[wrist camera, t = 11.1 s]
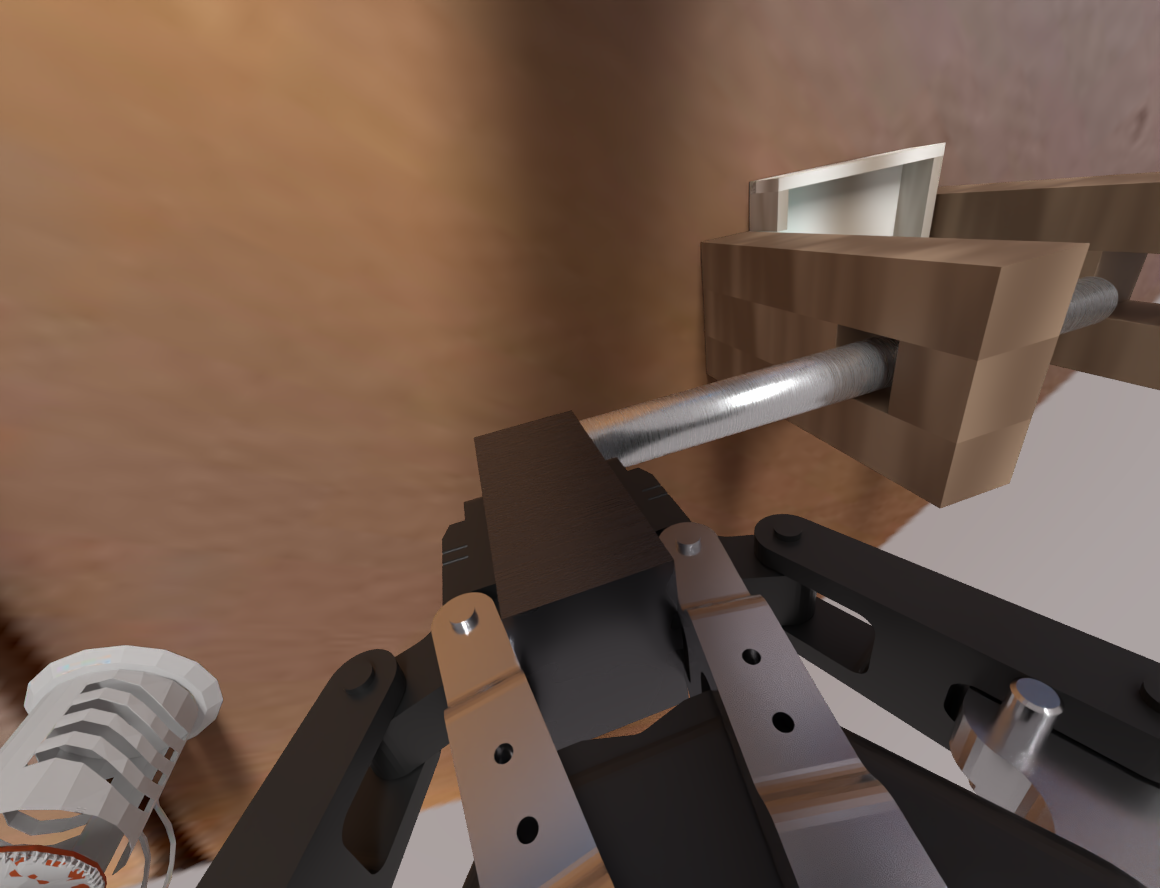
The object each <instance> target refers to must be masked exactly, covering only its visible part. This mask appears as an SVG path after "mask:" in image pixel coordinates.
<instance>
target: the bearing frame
mask: <svg viewBox="0 0 1160 888" xmlns="http://www.w3.org/2000/svg"><path fill="white" fill-rule="evenodd" d="M945 144H946V143H939V144H933V145H926V146H920V147H914V148H907V149H902V150H897V151H892V152H888V153H883V154H878V155H873V156H869V157H864V158H859V159H855V160H850V161H845V162H840V163H836V164H831V165H826V166H822V167H817V168H812V169H807V170H803V171H798V172H793V173H789V174H784V175H779V176H775V177H770V178H765V179H760V180H756V181H751V182H750V231H747V232H743V233H738V234H734V235H730V236H725V237H721V238H717V239H712V240H708V241H704V242H701V255H702V278H703V300H704V322H705V344H706V367H707V374H708V375H710V376H711V377H713V378H715V379H717V380H718V381H721V380H724V379H728V378H731V377H735V376H738V375H742V374H745V373H749V372H752V371H756V370H759V369H763V368H766V367H770V366H773V365H777V364H780V363H784V362H787V361H791V360H794V359H798V358H801V357H805V356H809V355H812V354H816V353H819V352H823V351H826V350H830V349H833V348H837V347H840V346H844V345H847V344H851V343H854V342H858V341H861V340H865V339H868V338H872V337H875V336H879V335H881V336H885V337H888V338H892V339H896V340H900V341H899V347H898V353H897V359H896V365H895V371H894V377H893V383H892V386H890V387H887V388H883V389H880V390H877V391H873V392H870V393H867V394H864V395H860V396H857V397H854V398H851V399H847V400H844V401H841V402H838V403H834V404H831V405H828V406H824V407H821V408H818V409H815V410H811V411H808V412H805V413H802V414H798V415H795V416H792V417H789V418H785V419H786V420H788V421H789V422H791V423H793V424H795V425H796V426H798V427H800V428H801V429H803V430H805V431H807V432H808V433H810V434H812V435H814V436H815V437H817V438H819V439H821V440H822V441H824V442H826V443H827V444H829V445H831V446H833V447H834V448H836V449H838V450H840V451H841V452H843V453H845V454H847V455H848V456H850V457H852V458H853V459H855V460H857V461H859V462H860V463H862V464H864V465H866V466H867V467H869V468H871V469H873V470H874V471H876V472H878V473H879V474H881V475H883V476H885V477H886V478H888V479H890V480H892V481H893V482H895V483H897V484H899V485H900V486H902V487H904V488H905V489H907V490H909V491H911V492H912V493H914V494H916V495H918V496H919V497H921V498H923V499H925V500H926V501H928V502H930V503H931V504H933V505H935V506H937V507H938V508H943V507H945V506H948V505H951V504H954V503H956V502H959V501H962V500H965V499H968V498H970V497H973V496H976V495H979V494H981V493H984V492H987V491H989V490H992V489H995V488H998V487H1001V486H1003V485H1006V484H1009V483H1010V480H1011V478H1012V475H1013V472H1014V468H1015V466H1016V463H1017V460H1018V457H1019V454H1020V451H1021V448H1022V445H1023V442H1024V439H1025V436H1026V433H1027V430H1028V427H1029V424H1030V421H1031V418H1032V415H1033V412H1034V409H1035V406H1036V403H1037V400H1038V397H1039V394H1040V391H1041V388H1042V385H1043V382H1044V379H1045V376H1046V373H1047V370H1048V367H1049V364H1051V365H1055V366H1059V367H1063V368H1068V369H1072V370H1076V371H1080V372H1085V373H1089V374H1093V375H1097V376H1102V377H1106V378H1110V379H1115V380H1119V381H1123V382H1127V383H1131V384H1136V385H1140V386H1144V387H1148V388H1152V389H1157V390H1160V304H1158V303H1150V302H1141V301H1132V300H1129V299H1130V297H1131V294H1132V292H1133V289H1134V287H1135V284H1136V282H1137V279H1138V277H1139V274H1140V272H1141V269H1142V267H1143V264H1144V261H1145V259H1146V256H1147V254H1148V253H1153V254H1160V172H1150V173H1136V174H1121V175H1106V176H1091V177H1077V178H1062V179H1047V180H1032V181H1018V182H1003V183H988V184H973V185H959V186H944V187H938V183H939V177H940V172H941V166H942V161H943V155H944V149H945ZM1083 277H1100V278H1103V279H1106V280H1107V281H1109V282H1110V283H1112V284H1113V285H1114V287H1115V288H1116V290H1117V293H1118V303H1117V306H1116V308H1115V310H1114V311H1113V312H1112V314H1111V315H1110V316H1109V317H1107V318H1106V319H1104V320H1103V321H1101V322H1099V323H1096V324H1093V325H1089V326H1086V327H1083V328H1079V329H1076V330H1073V331H1070V332H1066V333H1063V334H1060V332H1061V329H1062V326H1063V323H1064V320H1065V317H1066V314H1067V311H1068V308H1069V305H1070V302H1071V299H1072V296H1073V293H1074V290H1075V287H1076V284H1077V281H1078V279H1079V278H1083ZM1059 334H1060V335H1059Z"/></svg>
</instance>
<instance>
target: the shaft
mask: <svg viewBox="0 0 1160 888" xmlns="http://www.w3.org/2000/svg"><path fill="white" fill-rule="evenodd" d="M1117 303H1118V293H1117V290H1116V288H1115V287H1114V285H1113V284H1112V283H1110V282H1109V281H1107V280H1106V279H1103V278H1100V277H1083V278H1079V279H1078V281H1077V284H1076V287H1075V290H1074V293H1073V296H1072V299H1071V302H1070V305H1069V308H1068V311H1067V314H1066V317H1065V320H1064V323H1063V326H1062V329H1061V332H1060V334H1063V333H1066V332H1070V331H1073V330H1076V329H1079V328H1083V327H1086V326H1089V325H1093V324H1096V323H1099V322H1101V321H1103V320H1104V319H1106V318H1107V317H1109V316H1110V315H1111V314H1112V312H1113V311H1114V310H1115V308H1116V306H1117ZM1060 334H1059V335H1060ZM899 341H900V340H896V339H892V338H888V337H885V336H881V335H879V336H875V337H872V338H868V339H865V340H861V341H858V342H854V343H851V344H847V345H844V346H840V347H837V348H833V349H830V350H826V351H823V352H819V353H816V354H812V355H809V356H805V357H801V358H798V359H794V360H791V361H787V362H784V363H780V364H777V365H773V366H770V367H766V368H763V369H759V370H756V371H752V372H749V373H745V374H742V375H738V376H735V377H731V378H728V379H724V380H721V381H717V382H714V383H710V384H707V385H703V386H699V387H696V388H692V389H689V390H685V391H682V392H678V393H675V394H671V395H668V396H664V397H661V398H657V399H654V400H650V401H647V402H643V403H640V404H636V405H633V406H629V407H626V408H622V409H619V410H615V411H612V412H608V413H605V414H601V415H597V416H594V417H590V418H587V419H583V420H580V421H578V419H577V418H576V416H575V415H574V413H573V412H572V410H571V411H568V412H564V413H560V414H557V415H553V416H550V417H546V418H543V419H539V420H535V421H532V422H528V423H525V424H521V425H518V426H514V427H510V428H507V429H503V430H500V431H496V432H493V433H489V434H485V435H482V436H478V437H475V438H474V442H475V448H476V455H477V462H478V468H479V475H480V481H481V488H482V495H483V501H484V508H485V515H486V521H487V528H488V534H489V541H490V548H491V554H492V561H493V568H494V574H495V581H496V587H497V594H498V601H499V607H500V614H501V620H502V623H503V625H504V628H505V631H506V633H507V636H508V638H509V641H510V644H511V646H512V649H513V651H514V652H515V655H516V657H517V659H518V662H519V664H520V667H521V668H522V670H523V672H524V674H525V676H526V679H527V681H528V684H529V686H530V688H531V691H532V693H533V696H534V698H535V700H536V703H537V705H538V707H539V710H540V712H541V715H542V717H543V719H544V722H545V724H546V727H547V729H548V731H549V734H550V736H551V739H552V741H553V743H554V746H555V748H556V751H557V750H560V749H562V748H565V747H567V746H570V745H572V744H575V743H577V742H580V741H584V740H590V739H593V738H595V737H598V736H600V735H603V734H605V733H608V732H610V731H613V730H615V729H618V728H620V727H623V726H625V725H628V724H630V723H633V722H635V721H638V720H640V719H643V718H645V717H648V716H650V715H653V714H655V713H658V712H660V711H663V710H665V709H668V708H670V707H673V706H675V705H678V704H680V703H681V702H682V701H684V700H686V699H688V689H687V684H686V681H685V678H684V670H683V663H685V659H684V650H683V640H682V630H681V621H680V617H679V614H678V611H677V601H676V593H678V591H677V582H676V572H675V562H674V559H673V557H672V556H671V554H670V553H669V552H668V550H667V549H666V547H665V546H664V544H663V543H662V541H661V540H660V538H659V537H658V536H657V534H656V533H655V531H654V530H653V528H652V527H651V525H650V524H649V522H648V521H647V520H646V518H645V517H644V515H643V514H642V512H641V511H640V509H639V508H638V506H637V505H636V504H635V502H634V501H633V499H632V498H631V496H630V495H629V493H628V492H627V490H626V489H625V488H624V486H623V485H622V483H621V482H620V480H619V479H618V477H617V476H616V474H615V473H614V472H613V470H612V469H611V467H610V466H609V464H608V463H607V461H606V460H608V459H611V458H614V457H617V458H618V459H619V460H620V462H621V463H622V464H623V466H624V467H628V466H632V465H635V464H638V463H641V462H645V461H648V460H651V459H654V458H658V457H661V456H664V455H668V454H671V453H674V452H677V451H681V450H684V449H687V448H690V447H694V446H697V445H700V444H704V443H707V442H710V441H713V440H717V439H720V438H723V437H726V436H730V435H733V434H736V433H739V432H743V431H746V430H749V429H753V428H756V427H759V426H762V425H766V424H769V423H772V422H775V421H779V420H782V419H785V418H789V417H792V416H795V415H798V414H802V413H805V412H808V411H811V410H815V409H818V408H821V407H824V406H828V405H831V404H834V403H838V402H841V401H844V400H847V399H851V398H854V397H857V396H860V395H864V394H867V393H870V392H873V391H877V390H880V389H883V388H887V387H890V386H892V383H893V377H894V371H895V365H896V359H897V353H898V347H899Z"/></svg>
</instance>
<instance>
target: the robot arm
mask: <svg viewBox="0 0 1160 888" xmlns="http://www.w3.org/2000/svg"><path fill="white" fill-rule="evenodd" d="M606 461H607V463H608V464H609V466H610V467H611V469H612V470H613V472H614V473H615V474H616V476H617V477H618V479H619V480H620V482H621V483H622V485H623V486H624V488H625V489H626V490H627V492H628V493H629V495H630V496H631V498H632V499H633V501H634V502H635V504H636V505H637V506H638V508H639V509H640V511H641V512H642V514H643V515H644V517H645V518H646V520H647V521H648V522H649V524H650V525H651V527H652V528H653V530H654V531H655V533H656V534H657V536H658V537H659V538H660V540H661V541H662V543H663V544H664V546H665V547H666V549H667V550H668V552H669V553H670V554H671V556H672V557H673V559H674V562H675V572H676V582H677V591H678V593H676V601H677V611H678V614H679V617H680V621H681V630H682V640H683V650H684V659H685V663H683V670H684V678H685V681H686V684H687V687H688V691H689V694H690V698H688V699H686V700H684V701H682V702H681V703H680V704H679V705H677V706H676V707H675V708H673V709H672V710H671V711H669V712H668V713H667V714H666V715H664V716H663V717H662V718H660V719H659V720H658V721H656V722H655V723H654V724H653V725H651V726H650V727H649V728H647V729H646V730H645V731H643V732H642V733H639V734H636V735H629V736H620V737H611V738H602V739H593V740H584V741H580V742H577V743H575V744H572V745H570V746H567V747H565V748H562V749H560V750H557V751H556V748H555V746H554V743H553V741H552V739H551V736H550V734H549V731H548V729H547V727H546V724H545V722H544V719H543V717H542V715H541V712H540V710H539V707H538V705H537V703H536V700H535V698H534V696H533V693H532V691H531V688H530V686H529V684H528V681H527V679H526V676H525V674H524V672H523V670H522V668H521V667H520V664H519V662H518V659H517V657H516V655H515V652H514V651H513V649H512V646H511V644H510V641H509V638H508V636H507V633H506V631H505V628H504V625H503V623H502V620H501V614H500V607H499V601H498V594H497V587H496V581H495V574H494V568H493V561H492V554H491V548H490V541H489V534H488V528H487V521H486V515H485V508H484V501H483V497H480V498H476V499H473V500H470V501H466V502H464V511H465V521H461V522H458V523H455V524H452V525H450V526H449V527H448V529H447V531H446V533H445V535H444V537H443V539H442V553H443V555H442V563H443V566H442V579H443V606H442V607H441V608H440V610H439V611H438V612H437V613H436V615H435V617H434V619H433V621H432V625H431V632H430V633H429V634H428V635H427V636H426V637H425V638H424V639H422V640H421V641H420V642H418V643H417V644H415V645H414V646H412V647H411V648H409V649H407V650H406V651H404V652H403V653H401V654H399V655H398V656H396V657H394V656H393V654H392V653H390V652H389V651H386V650H382V649H374V650H369V651H366V652H363V653H361V654H358V655H356V656H355V657H353V658H351V659H350V660H348V661H347V662H346V663H344V664H343V665H342V666H341V667H340V668H339V669H338V670H337V671H336V672H335V673H334V674H333V676H332V677H331V679H330V680H329V682H328V683H327V685H326V686H325V688H324V689H323V691H322V692H321V694H320V695H319V697H318V699H317V700H316V702H315V703H314V705H313V706H312V708H311V709H310V711H309V713H308V714H307V716H306V717H305V719H304V720H303V722H302V723H301V725H300V727H299V728H298V730H297V731H296V733H295V734H294V736H293V737H292V739H291V741H290V742H289V744H288V745H287V747H286V748H285V750H284V751H283V753H282V755H281V756H280V758H279V759H278V761H277V762H276V764H275V765H274V767H273V768H272V770H271V772H270V773H269V775H268V776H267V778H266V779H265V781H264V782H263V784H262V786H261V787H260V789H259V790H258V792H257V793H256V795H255V796H254V798H253V800H252V801H251V803H250V804H249V806H248V807H247V809H246V810H245V812H244V814H243V815H242V817H241V818H240V820H239V821H238V823H237V824H236V826H235V828H234V829H233V831H232V832H231V834H230V835H229V837H228V838H227V840H226V842H225V843H224V845H223V846H222V848H221V849H220V851H219V852H218V854H217V855H216V857H215V859H214V860H213V862H212V863H211V865H210V866H209V868H208V869H207V871H206V873H205V874H204V876H203V877H202V879H201V881H200V882H199V883H198V885H197V887H196V888H392V885H393V882H394V880H395V877H396V874H397V871H398V869H399V866H400V863H401V861H402V858H403V855H404V853H405V849H406V847H407V844H408V842H409V839H410V836H411V833H412V831H413V828H414V825H415V822H416V820H417V817H418V814H419V812H420V809H421V806H422V804H423V801H424V798H425V795H426V793H427V790H428V787H429V785H430V782H431V779H432V776H433V774H434V771H435V768H436V766H437V763H438V760H439V757H440V753H441V749H442V748H444V747H445V746H446V745H448V744H449V743H450V748H451V752H452V757H453V762H454V767H455V771H456V776H457V781H458V786H459V790H460V795H461V800H462V804H463V809H464V814H465V819H466V823H467V828H468V832H469V837H470V842H471V847H472V852H473V856H474V861H473V864H472V866H471V869H470V871H469V873H468V875H467V878H466V880H465V882H464V885H463V887H462V888H1160V663H1158V662H1156V661H1153V660H1151V659H1148V658H1146V657H1144V656H1141V655H1139V654H1136V653H1134V652H1131V651H1129V650H1126V649H1124V648H1121V647H1119V646H1116V645H1114V644H1112V643H1109V642H1107V641H1104V640H1102V639H1099V638H1097V637H1094V636H1092V635H1089V634H1087V633H1085V632H1082V631H1080V630H1077V629H1075V628H1072V627H1070V626H1067V625H1065V624H1062V623H1060V622H1057V621H1055V620H1053V619H1050V618H1048V617H1045V616H1043V615H1040V614H1037V613H1035V612H1033V611H1030V610H1028V609H1025V608H1023V607H1021V606H1018V605H1016V604H1013V603H1011V602H1008V601H1006V600H1003V599H1001V598H998V597H996V596H993V595H991V594H988V593H986V592H984V591H981V590H979V589H976V588H974V587H971V586H969V585H966V584H964V583H962V582H959V581H957V580H954V579H952V578H949V577H947V576H944V575H942V574H939V573H937V572H935V571H932V570H930V569H927V568H925V567H922V566H920V565H917V564H915V563H912V562H910V561H907V560H905V559H903V558H900V557H898V556H895V555H893V554H890V553H888V552H885V551H883V550H880V549H878V548H875V547H873V546H871V545H868V544H866V543H863V542H861V541H858V540H856V539H853V538H851V537H848V536H846V535H844V534H841V533H839V532H836V531H834V530H831V529H829V528H826V527H824V526H821V525H819V524H816V523H814V522H812V521H809V520H807V519H804V518H801V517H799V516H794V515H788V514H777V515H771V516H768V517H765V518H763V519H762V520H760V521H759V522H758V523H757V525H756V526H755V530H754V535H746V536H733V537H722V536H717V535H716V533H715V532H714V531H713V530H712V529H710V528H709V527H707V526H705V525H702V524H699V523H693V522H691V521H690V519H689V518H688V517H687V516H686V515H685V513H684V512H683V511H682V510H681V509H680V507H679V506H678V505H677V504H676V503H675V501H674V500H673V499H672V498H671V497H670V495H669V494H667V492H666V491H665V489H664V488H663V487H662V486H661V485H660V483H659V482H658V481H657V480H656V479H655V477H654V476H653V475H652V474H650V473H648V472H646V471H644V470H642V469H640V468H636V469H633V470H630V471H627V470H626V468H625V467H624V466H623V464H622V463H621V462H620V460H619V459H618V458H617V457H614V458H611V459H608V460H606ZM817 592H818V593H820V594H821V595H823V596H825V597H827V598H829V599H831V600H833V601H835V602H837V603H839V604H841V605H843V606H845V607H847V608H849V609H850V610H852V611H855V612H856V613H858V614H860V615H861V616H863V617H864V618H865V619H866V620H868V622H869V623H870V624H871V625H872V626H871V625H869V624H867V623H865V622H863V621H861V620H860V619H858V618H856V617H854V616H852V615H850V614H848V613H846V612H844V611H842V610H840V609H838V608H837V607H835V606H833V605H831V604H829V603H827V602H825V601H823V600H821V599H820V598H818V597H816V593H817ZM798 655H800V656H802V657H803V658H805V659H806V660H808V661H809V662H811V663H813V664H814V665H816V666H817V667H819V668H820V669H822V670H824V671H825V672H827V673H828V674H830V675H832V676H833V677H835V678H836V679H838V680H839V681H841V682H843V683H844V684H846V685H847V686H849V687H850V688H852V689H854V690H855V691H857V692H858V693H860V694H862V695H863V696H865V697H866V698H868V699H869V700H871V701H872V702H874V703H876V704H877V705H879V706H880V707H882V708H883V709H885V710H887V711H888V712H890V713H891V714H893V715H894V716H896V717H898V718H899V719H901V720H902V721H904V722H905V723H907V724H909V725H910V726H912V727H913V728H915V729H916V730H918V731H920V732H921V733H923V734H924V735H926V736H927V737H929V738H931V739H932V740H934V741H935V742H937V743H939V744H940V745H942V746H943V747H945V748H946V749H948V750H950V751H951V753H952V755H953V758H954V760H955V761H956V763H957V765H958V766H959V768H960V769H961V771H962V772H963V773H964V774H965V775H966V776H967V778H968V779H969V783H970V785H971V787H972V789H973V790H974V791H975V793H976V794H975V793H973V792H971V791H969V790H967V789H965V788H963V787H961V786H959V785H957V784H955V783H952V782H951V781H949V780H947V779H945V778H943V777H941V776H938V775H937V774H935V773H933V772H931V771H928V770H927V769H925V768H923V767H921V766H919V765H917V764H915V763H913V762H911V761H909V760H906V759H905V758H903V757H901V756H899V755H897V754H895V753H893V752H891V751H889V750H887V749H885V748H883V747H881V746H879V745H877V744H875V743H873V742H871V741H869V740H867V739H865V738H863V737H861V736H859V735H857V734H855V733H852V732H851V731H849V730H847V729H845V728H843V727H841V726H840V725H839V724H838V722H837V720H836V719H835V717H834V715H833V713H832V712H831V710H830V708H829V707H828V705H827V703H826V702H825V700H824V698H823V696H822V695H821V693H820V691H819V690H818V688H817V686H816V684H815V683H814V681H813V679H812V678H811V676H810V674H809V673H808V671H807V669H806V667H805V666H804V664H803V662H802V661H801V659H800V657H799V656H798Z"/></svg>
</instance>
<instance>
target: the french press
mask: <svg viewBox="0 0 1160 888" xmlns="http://www.w3.org/2000/svg"><path fill="white" fill-rule="evenodd" d="M222 701H223V698H222V694H221V691H220V688H219V685H218V681H217V679H215V678H214V677H213V676H212V675H211V674H210V673H209V672H208V671H206V670H205V669H204V668H203V667H202V666H201V665H200V664H199V663H197V662H195V661H193V660H190V659H187V658H185V657H182V656H180V655H177V654H175V653H172V652H170V651H167V650H162V649H153V648H145V647H137V646H128V645H124V646H115V647H106V648H97V649H87V650H83V651H81V652H78V653H75V654H73V655H70V656H68V657H65V658H62V659H60V660H57V661H55V662H52V663H50V664H49V665H48V666H47V667H46V668H44V669H43V670H42V671H41V672H40V673H39V674H38V675H37V676H36V677H35V678H34V679H33V680H31V681H30V682H29V683H28V688H27V693H26V698H25V703H24V707H25V709H26V711H27V713H28V714H29V715H28V716H27V717H26V719H25V720H24V721H23V722H22V723H21V725H20V726H19V727H18V728H17V729H16V731H15V732H14V733H13V734H12V735H11V737H10V738H9V739H8V740H7V742H6V743H5V744H4V745H3V746H2V748H1V749H0V813H3V815H4V818H5V820H6V822H7V825H8V826H10V827H12V828H14V829H17V830H19V831H21V832H23V833H25V834H28V835H30V836H32V835H40V834H48V833H57V832H64V831H67V830H70V829H73V828H76V827H79V826H82V825H85V824H86V826H85V828H84V830H83V831H82V833H81V835H79V836H76V837H73V838H71V839H68V840H65V841H63V842H60V843H57V844H55V845H47V846H42V845H27V844H21V845H12V844H10V843H8V842H5V841H3V840H1V839H0V888H106V885H107V881H106V876H105V874H104V872H105V870H106V868H107V866H108V864H109V863H110V861H111V859H112V857H113V855H114V853H115V851H116V849H117V847H118V845H119V843H120V841H121V839H122V837H123V835H124V834H125V836H126V837H127V838H128V839H129V842H128V844H127V846H126V848H125V850H124V852H123V854H122V856H121V858H120V860H119V862H118V864H117V866H116V868H115V870H114V872H113V874H115V873H116V872H117V871H119V870H120V869H121V868H122V867H124V866H125V865H126V863H127V861H128V859H129V857H130V855H131V853H132V851H133V849H134V846H135V844H136V842H137V840H138V839H139V841H140V843H141V846H142V849H143V853H144V856H145V867H144V877H143V881H142V885H141V888H147V882H148V876H149V869H150V861H151V854H150V850H149V845H148V841H147V838H146V836H145V835H144V833H143V832H142V830H143V828H144V826H145V824H146V822H147V820H148V818H149V816H150V814H151V812H152V810H153V808H154V809H155V810H156V812H157V814H158V815H159V817H160V819H161V820H162V822H163V824H164V825H165V827H166V830H167V834H168V837H169V840H170V843H171V847H170V864H169V868H168V871H167V875H166V879H165V882H164V886H163V888H168V886H169V884H170V881H171V878H172V873H173V867H174V861H175V848H176V841H175V837H174V832H173V828H172V824H171V822H170V821H169V819H168V818H167V816H166V814H165V813H164V811H163V810H162V808H161V807H160V805H159V797H160V795H161V793H162V791H163V789H164V787H165V785H166V783H167V781H168V778H169V776H170V774H171V772H172V770H173V768H174V766H175V764H176V761H177V759H178V757H179V755H180V753H181V751H182V749H183V747H184V745H185V743H186V741H187V740H188V739H190V738H193V737H195V736H197V735H198V734H199V733H200V732H201V731H203V730H204V729H205V728H206V727H207V726H208V725H209V724H211V723H212V722H213V721H214V720H215V719H216V717H217V715H218V712H219V709H220V707H221V704H222ZM170 747H171V748H172V749H174V752H173V754H172V756H171V758H170V760H168V759H167V758H166V757H164V756H165V754H166V752H167V750H168V748H170ZM34 754H35V756H36V758H37V761H38V763H36V764H32V765H29V766H28V765H27V763H28V762H29V760H30V759H31V758H32V756H33V755H34ZM157 770H159V771H161V772H162V773H163V774H162V776H161V778H160V780H159V782H158V784H156V783H154V782H153V781H152V779H153V777H154V776H155V774H156V772H157ZM113 777H114V778H113ZM109 778H113V780H112V782H111V784H110V783H108V782H107V781H106V779H109ZM144 795H146V796H148V797H149V798H150V800H149V802H148V804H147V806H146V808H145V810H144V811H142V810H140V809H139V808H138V806H139V805H140V803H141V801H142V799H143V797H144ZM18 810H65V811H71V812H76V813H82V814H81V815H78V816H75V817H72V818H65V819H55V820H45V821H39V820H37V819H35V818H32V817H30V816H28V815H26V814H24V813H21V812H19V811H18ZM113 874H112V875H113Z"/></svg>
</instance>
